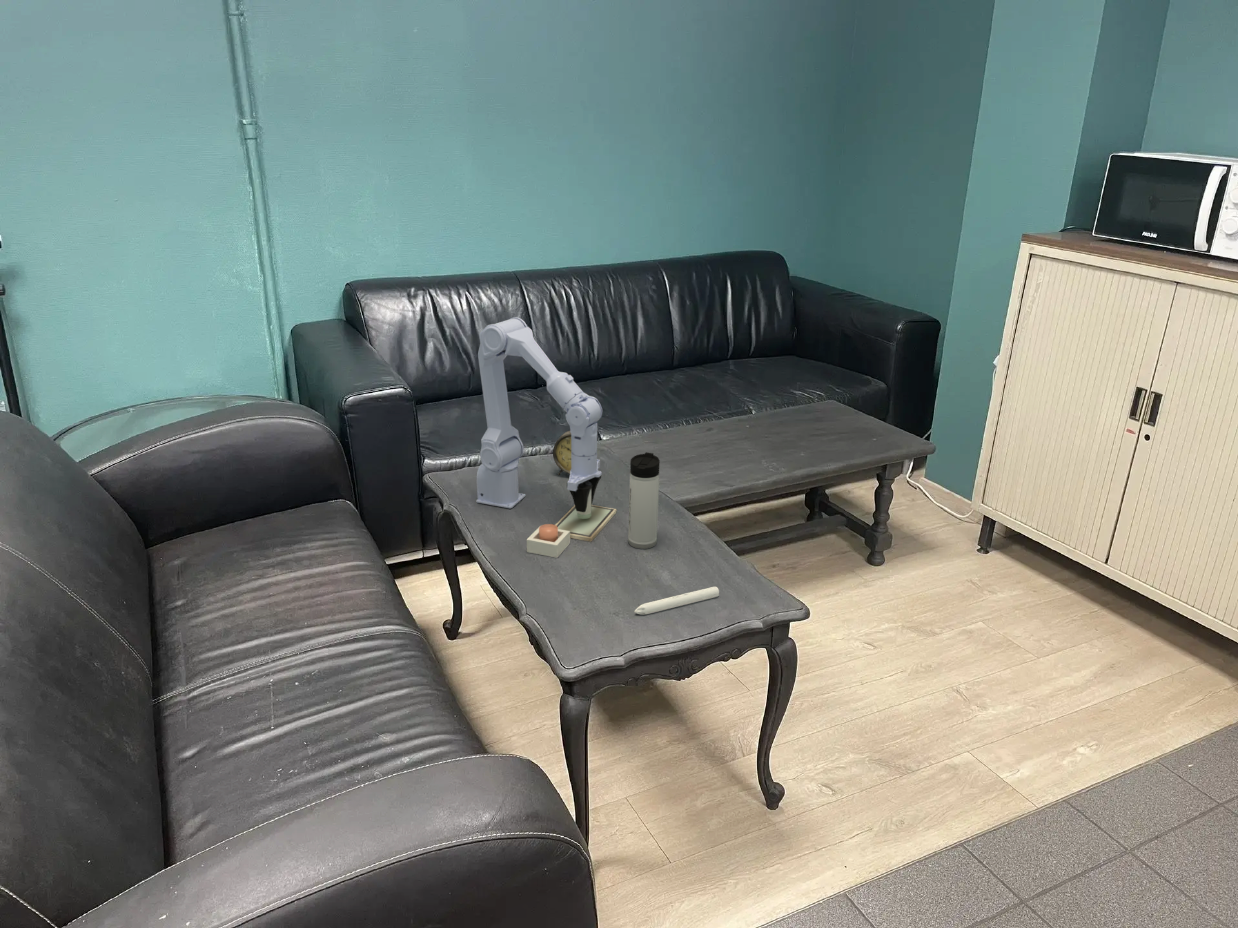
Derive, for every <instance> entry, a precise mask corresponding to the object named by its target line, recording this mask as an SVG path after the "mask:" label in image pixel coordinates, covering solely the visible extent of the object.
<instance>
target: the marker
mask: <svg viewBox="0 0 1238 928" xmlns="http://www.w3.org/2000/svg"><path fill="white" fill-rule="evenodd" d="M719 596H720V589H719V588H718V587H717V586H711V587H708V588H703V589H698V590H694V591H691V592H690V591H689V592H685V593H682V594H678V595H674V596H670V597H665V598H662V599H658V600H653V601H650V602H645V603H642V604H641V605H639V606H638V607H637V608H635V610H634V613H635V614H637V615H642V616H643V615H644V616H645V615H650V614H654V613H658V612H662V611H666V610H670V609H674V608H678V607H682V606H686V605H690V604H694V603H698V602H701V601H707V600H711V599H714V598H718V597H719Z"/></svg>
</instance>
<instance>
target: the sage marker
mask: <svg viewBox="0 0 1238 928" xmlns="http://www.w3.org/2000/svg"><path fill="white" fill-rule="evenodd" d="M584 483H586V484H587V485H591V482H589V481H585V482H584ZM577 517H578V518H581V519H587V518H590V517H591V490H590V492H589V496H588V502H587V508H586V511H585V512H579V511H577Z"/></svg>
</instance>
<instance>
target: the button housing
mask: <svg viewBox="0 0 1238 928" xmlns="http://www.w3.org/2000/svg"><path fill="white" fill-rule="evenodd" d="M570 544H571V538H570V531H566V530H561V529H558V539H557V540H556V541H555V542H550V541H544V540H539V527H538V528H536V530H535V531H533V532H532V534H531V535H529V537H527V539H526V552H527V553H530V554H535V555H541V556H545V557H549V558H556V559H558V557H560V556H561V554H562V553H563V552H564V551H565V550H566V549H567V547H568V546H569V545H570Z"/></svg>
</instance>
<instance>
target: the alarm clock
mask: <svg viewBox="0 0 1238 928" xmlns="http://www.w3.org/2000/svg"><path fill="white" fill-rule="evenodd" d="M552 457H553V460H554V463H555V465H556V467H558V468H559V469H560V470H559V472H557V475H558V476H561V474H562V473H563V472H564V473H566V474H569V475H570V470H571V433H570V430H568V431H566V432H564V433H563V434H562V435H560V437H559V438H558V439H557V440H556V442H555V443H554V446H553V449H552Z"/></svg>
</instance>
